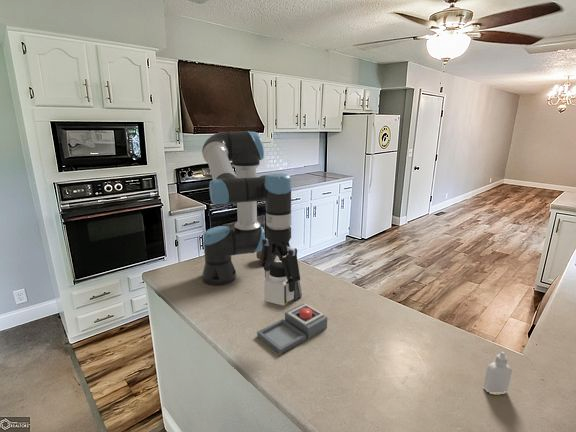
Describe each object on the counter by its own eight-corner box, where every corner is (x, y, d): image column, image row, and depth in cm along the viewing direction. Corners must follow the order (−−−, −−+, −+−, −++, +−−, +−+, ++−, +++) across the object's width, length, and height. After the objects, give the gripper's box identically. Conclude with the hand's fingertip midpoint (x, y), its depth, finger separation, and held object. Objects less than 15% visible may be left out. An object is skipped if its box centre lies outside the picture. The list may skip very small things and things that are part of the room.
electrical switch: (302, 297, 133) (301, 277, 130) (296, 303, 129) (294, 283, 126) (283, 291, 138) (282, 271, 134) (276, 297, 134) (275, 277, 130)
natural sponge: (278, 261, 166) (278, 243, 163) (265, 267, 160) (264, 248, 158) (267, 256, 173) (267, 238, 170) (254, 261, 167) (253, 243, 164)
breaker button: (296, 320, 114) (296, 311, 113) (305, 315, 117) (305, 306, 116) (305, 326, 111) (305, 316, 110) (314, 321, 114) (314, 311, 113)
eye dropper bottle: (481, 381, 90) (489, 344, 86) (505, 388, 87) (514, 350, 84) (483, 393, 86) (491, 354, 82) (508, 400, 83) (517, 361, 80)
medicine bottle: (284, 306, 99) (284, 270, 96) (264, 301, 102) (263, 265, 99) (294, 295, 106) (294, 261, 102) (274, 291, 108) (274, 257, 105)
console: (257, 336, 108) (256, 324, 107) (303, 312, 122) (303, 302, 120) (280, 355, 100) (280, 342, 99) (327, 327, 113) (327, 315, 112)
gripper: (247, 221, 103) (249, 285, 109) (294, 237, 87) (294, 312, 93) (266, 216, 108) (267, 279, 114) (313, 231, 92) (312, 303, 98)
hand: (279, 294), depth 103 cm, fingers closed on medicine bottle, 9 cm apart
